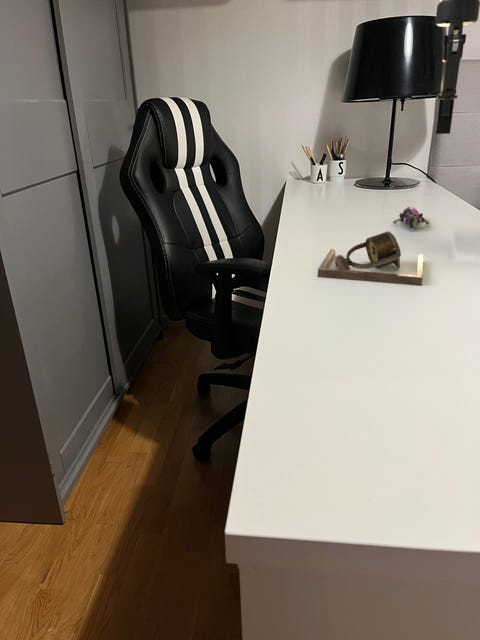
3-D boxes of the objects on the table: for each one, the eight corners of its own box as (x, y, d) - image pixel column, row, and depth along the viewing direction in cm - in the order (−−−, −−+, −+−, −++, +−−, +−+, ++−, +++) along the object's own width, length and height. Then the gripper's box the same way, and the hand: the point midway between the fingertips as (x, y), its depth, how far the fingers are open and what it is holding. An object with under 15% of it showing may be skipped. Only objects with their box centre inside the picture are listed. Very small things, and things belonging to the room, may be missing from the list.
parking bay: (422, 261, 103) (423, 254, 102) (421, 285, 91) (422, 277, 90) (330, 255, 109) (330, 248, 108) (317, 276, 96) (317, 269, 96)
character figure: (391, 218, 140) (393, 230, 126) (392, 204, 139) (394, 214, 124) (426, 219, 138) (432, 231, 124) (428, 205, 137) (434, 216, 122)
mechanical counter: (408, 250, 92) (405, 226, 100) (338, 242, 94) (340, 219, 102) (399, 283, 96) (397, 257, 104) (333, 274, 98) (335, 250, 106)
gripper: (436, 7, 101) (423, 131, 110) (439, -4, 90) (424, 136, 99) (476, 3, 99) (459, 131, 108) (484, -8, 87) (465, 135, 97)
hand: (442, 133), depth 104 cm, fingers closed
